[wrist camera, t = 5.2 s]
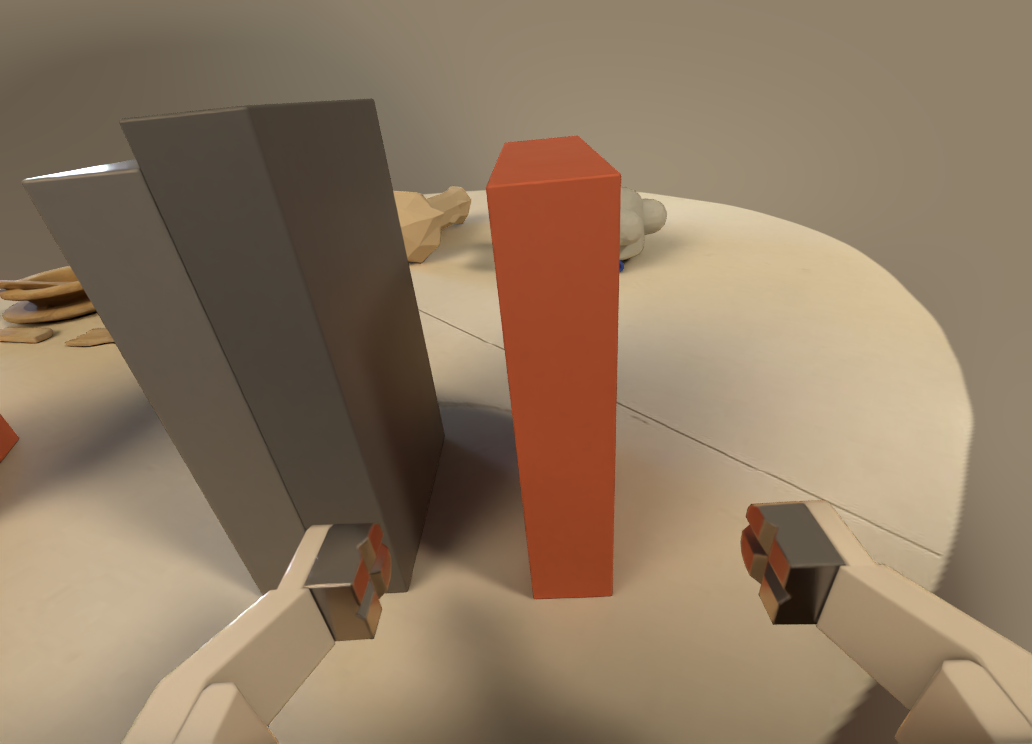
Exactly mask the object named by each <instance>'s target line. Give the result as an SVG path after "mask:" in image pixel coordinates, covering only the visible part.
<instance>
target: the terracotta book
mask: <svg viewBox="0 0 1032 744" xmlns="http://www.w3.org/2000/svg"><path fill="white" fill-rule="evenodd" d="M486 193H487V202H488V210H489V219H490V227H491V236H492V245H493V253H494V262H495V270H496V279H497V288H498V296H499V305H500V313H501V322H502V331H503V339H504V348H505V356H506V365H507V374H508V382H509V391H510V399H511V408H512V417H513V425H514V434H515V442H516V451H517V460H518V468H519V477H520V485H521V494H522V503H523V511H524V520H525V528H526V537H527V546H528V554H529V563H530V571H531V580H532V589H533V597H534V599H548V598H575V597H601V596H612V592H613V544H614V496H615V448H616V400H617V353H618V305H619V257H620V209H621V174H620V173H619V172H618V171H617V170H615V168H613V167H612V166H611V165H610V164H609V163H608V162H607V161H606V160H604V159H603V158H602V157H601V156H600V155H599V154H598V153H597V152H596V151H594V150H593V149H592V148H591V147H590V146H589V145H588V144H587V143H585V142H584V141H583V140H582V139H581V138H580V137H579V136H569V137H560V138H549V139H539V140H529V141H518V142H508V143H505V144H504V146H503V148H502V151H501V153H500V155H499V158H498V160H497V163H496V165H495V167H494V170H493V172H492V174H491V177H490V179H489V182H488V184H487V187H486Z"/></svg>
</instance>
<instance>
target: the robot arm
mask: <svg viewBox="0 0 1032 744" xmlns="http://www.w3.org/2000/svg"><path fill="white" fill-rule="evenodd" d="M746 518H747V520H748V522H749V524H750V525H749V526H747V527H746V528H745V529H744V530H743V531H742V536H741V552H742V557H743V560H744V564H745V566H746V568H747V571H748V573H749V575H750V576H751V577H752V578H754V579H755V580H756V581H758V582H759V583H760V584H761V587H760V591H759V597H760V599H761V601H762V603H763V605H764V607H765V609H766V611H767V613H768V615H769V618H770V620H771V622H772V624H773V625H777V624H817V625H816V627H817V628H818V629H819V630H821V631H822V632H823V633H824V634H825V635H826V636H827V637H828V638H829V639H831V640H832V641H833V642H834V643H835V644H836V645H837V646H838V647H839V648H841V649H842V650H843V651H844V652H845V653H846V654H847V655H848V656H849V657H851V658H852V659H853V660H854V661H855V662H856V663H857V664H858V665H859V666H860V667H862V668H863V669H864V670H865V671H866V672H867V673H868V674H869V675H870V676H872V677H873V678H874V679H875V680H876V681H877V682H878V683H879V684H881V685H882V686H883V687H884V688H885V689H886V690H887V691H888V692H889V693H890V694H891V695H893V696H894V697H895V698H896V699H897V700H898V701H899V702H900V703H901V704H903V705H904V706H905V707H906V708H907V709H908V710H909V711H910V712H909V714H908V715H907V717H906V718H905V720H904V721H903V723H902V724H901V726H900V727H899V729H898V731H897V733H896V735H895V739H896V740H897V742H898V744H1032V653H1030V652H1028V651H1027V650H1025V649H1023V648H1021V647H1020V646H1018V645H1017V644H1015V643H1013V642H1012V641H1010V640H1009V639H1007V638H1005V637H1003V636H1002V635H1000V634H999V633H997V632H995V631H994V630H992V629H990V628H989V627H987V626H985V625H984V624H982V623H980V622H979V621H977V620H975V619H974V618H972V617H971V616H969V615H967V614H966V613H964V612H962V611H961V610H959V609H957V608H956V607H954V606H952V605H950V604H949V603H947V602H946V601H944V600H942V599H941V598H939V597H938V596H936V595H934V594H933V593H931V592H929V591H928V590H926V589H924V588H923V587H921V586H919V585H918V584H916V583H914V582H913V581H911V580H909V579H908V578H906V577H905V576H903V575H901V574H900V573H898V572H896V571H895V570H893V569H891V568H890V567H888V566H886V565H885V564H876V563H875V562H874V561H873V559H872V558H871V557H870V555H869V554H868V553H867V551H866V550H865V549H864V547H863V546H862V545H861V543H860V542H859V541H858V539H857V538H856V537H855V535H854V534H853V533H852V531H851V530H850V529H849V528H848V526H847V525H846V524H845V522H844V521H843V520H842V518H841V517H840V516H839V514H838V513H837V512H836V510H835V509H834V508H833V506H832V505H831V504H830V503H829V502H827V501H826V500H811V501H799V502H798V501H790V502H773V503H757V504H751V505H750V506H749V507H748V509H747V513H746ZM383 534H384V533H383V531H382V528H381V526H380V524H378V523H358V524H329V525H312V526H311V527H310V528H309V529H307V531H306V532H305V534H304V536H303V538H302V540H301V542H300V544H299V546H298V548H297V550H296V552H295V554H294V556H293V558H292V560H291V562H290V564H289V566H288V568H287V570H286V572H285V574H284V576H283V578H282V580H281V582H280V584H279V586H278V588H277V589H276V590H269V591H268V592H267V593H266V594H265V595H263V596H262V597H261V598H260V599H259V600H257V601H256V602H255V603H254V604H253V605H251V606H250V607H249V608H248V609H247V610H245V611H244V612H243V613H242V614H241V615H239V616H238V617H237V618H236V619H234V620H233V621H232V622H231V623H230V624H228V625H227V626H226V627H225V628H224V629H222V630H221V631H220V632H219V633H218V634H216V635H215V636H214V637H213V638H212V639H210V640H209V641H208V642H207V643H206V644H204V645H203V646H202V647H201V648H200V649H198V650H197V651H196V652H195V653H194V654H192V655H191V656H190V657H189V658H187V659H186V660H185V661H184V662H183V663H181V664H180V665H179V666H178V667H177V668H175V669H174V670H173V671H172V672H171V673H169V674H168V675H167V676H166V677H165V678H163V679H162V680H161V681H160V682H159V683H158V684H157V686H156V688H155V689H154V691H153V693H152V694H151V696H150V697H149V699H148V701H147V702H146V704H145V705H144V707H143V709H142V710H141V712H140V713H139V715H138V717H137V718H136V720H135V721H134V723H133V725H132V726H131V728H130V729H129V731H128V733H127V734H126V736H125V737H124V739H123V741H122V742H121V744H279V742H278V741H277V740H276V738H275V737H274V736H273V734H272V733H271V732H270V730H269V729H268V728H267V726H268V725H269V723H270V722H271V721H272V720H273V718H274V717H275V716H276V715H277V714H278V712H279V711H280V710H281V709H282V708H283V706H284V705H285V704H286V703H287V702H288V700H289V699H290V698H291V697H292V696H293V694H294V693H295V692H296V691H297V689H298V688H299V687H300V686H301V685H302V683H303V682H304V681H305V680H306V679H307V677H308V676H309V675H310V674H311V673H312V671H313V670H314V669H315V668H316V667H317V665H318V664H319V663H320V662H321V660H322V659H323V658H324V657H325V656H326V654H327V653H328V652H329V651H330V650H331V648H332V647H333V646H334V645H335V641H346V640H362V639H374V637H375V633H376V630H377V626H378V623H379V619H380V615H381V612H382V607H381V604H380V602H379V598H380V597H381V596H382V595H383V594H384V593H385V592H386V591H387V590H388V586H389V582H390V578H391V566H392V564H391V555H390V552H389V548H388V547H387V546H386V545H384V544H383V543H381V541H382V538H383Z"/></svg>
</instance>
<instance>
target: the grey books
mask: <svg viewBox="0 0 1032 744" xmlns="http://www.w3.org/2000/svg"><path fill="white" fill-rule="evenodd" d="M120 125H121V128H122V130H123V132H124V134H125V136H126V138H127V141H128V142H129V145H130V147H131V149H132V152H133V154H134V156H135V158H136V160H131V161H125V162H120V163H114V164H108V165H103V166H97V167H91V168H86V169H80V170H75V171H69V172H63V173H57V174H51V175H46V176H41V177H35V178H29V179H25V180H24V181H22V185H23V187H24V188H25V190H26V192H27V193H28V195H29V197H30V199H31V200H32V202H33V204H34V205H35V207H36V209H37V210H38V212H39V214H40V216H41V217H42V219H43V221H44V222H45V224H46V226H47V228H48V229H49V231H50V233H51V234H52V236H53V238H54V240H55V241H56V243H57V245H58V246H59V248H60V250H61V251H62V253H63V255H64V257H65V258H66V260H67V261H68V263H69V265H70V267H71V269H72V270H73V272H74V274H75V275H76V277H77V279H78V281H79V282H80V284H81V286H82V287H83V289H84V291H85V292H86V294H87V296H88V298H89V299H90V301H91V303H92V304H93V306H94V308H95V310H96V311H97V313H98V315H99V316H100V318H101V320H102V322H103V323H104V325H105V327H106V328H107V330H108V332H109V334H110V335H111V337H112V339H113V340H114V342H115V344H116V345H117V347H118V349H119V351H120V352H121V354H122V356H123V357H124V359H125V361H126V363H127V364H128V366H129V368H130V369H131V371H132V373H133V375H134V376H135V378H136V380H137V381H138V383H139V385H140V386H141V388H142V390H143V392H144V393H145V395H146V397H147V398H148V400H149V402H150V404H151V405H152V407H153V409H154V410H155V412H156V414H157V416H158V417H159V419H160V421H161V422H162V424H163V426H164V427H165V429H166V431H167V433H168V434H169V436H170V438H171V439H172V441H173V443H174V445H175V446H176V448H177V450H178V451H179V453H180V455H181V457H182V458H183V460H184V462H185V463H186V465H187V467H188V468H189V470H190V472H191V474H192V475H193V477H194V479H195V480H196V482H197V484H198V486H199V487H200V489H201V491H202V492H203V494H204V496H205V498H206V499H207V501H208V503H209V504H210V506H211V508H212V509H213V511H214V513H215V515H216V516H217V518H218V520H219V521H220V523H221V525H222V527H223V528H224V530H225V532H226V533H227V535H228V537H229V539H230V540H231V542H232V544H233V545H234V547H235V549H236V551H237V552H238V554H239V556H240V557H241V559H242V561H243V562H244V564H245V566H246V568H247V569H248V571H249V573H250V574H251V576H252V578H253V580H254V581H255V583H256V585H257V586H258V588H259V590H260V592H261V593H262V595H265V594H266V593H267V592H268V591H269V590H276V589H277V588H278V586H279V584H280V582H281V580H282V578H283V576H284V574H285V572H286V570H287V568H288V566H289V564H290V562H291V560H292V558H293V556H294V554H295V552H296V550H297V548H298V546H299V544H300V542H301V540H302V538H303V536H304V534H305V532H306V531H307V529H309V528H310V527H311V526H312V525H329V524H358V523H378V524H380V526H381V528H382V531H383V533H384V534H383V538H382V541H381V543H383V544H384V545H386V546H387V547H388V548H389V552H390V555H391V564H392V566H391V578H390V582H389V586H388V590H387V591H386V592H385V593H394V592H407V591H408V588H409V584H410V580H411V576H412V571H413V567H414V563H415V559H416V555H417V550H418V546H419V542H420V538H421V534H422V529H423V525H424V521H425V517H426V512H427V508H428V504H429V500H430V496H431V491H432V487H433V483H434V479H435V475H436V470H437V466H438V462H439V458H440V453H441V449H442V445H443V441H444V437H445V434H444V429H443V425H442V420H441V415H440V410H439V406H438V401H437V396H436V391H435V387H434V382H433V377H432V372H431V368H430V363H429V358H428V353H427V349H426V344H425V339H424V335H423V330H422V325H421V320H420V316H419V311H418V306H417V301H416V297H415V292H414V287H413V282H412V278H411V273H410V268H409V263H408V259H407V254H406V249H405V245H404V240H403V235H402V230H401V226H400V221H399V216H398V211H397V207H396V202H395V197H394V192H393V188H392V183H391V178H390V174H389V169H388V164H387V159H386V155H385V150H384V145H383V140H382V136H381V131H380V126H379V121H378V117H377V112H376V107H375V102H374V100H373V99H356V100H337V101H320V102H302V103H283V104H265V105H246V106H237V107H227V108H218V109H208V110H199V111H190V112H180V113H171V114H162V115H152V116H143V117H134V118H124V119H121V120H120Z"/></svg>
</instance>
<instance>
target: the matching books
mask: <svg viewBox="0 0 1032 744" xmlns="http://www.w3.org/2000/svg"><path fill="white" fill-rule="evenodd" d="M18 439H19V437H18V436H17V434H16V433H15V432H14V431H13V429H12V428H11V427H10V426H9V424H8V423H7V422H6V420H5V419H4V418H3V417H2V415H1V414H0V462H1V461H2V460H3V458H4V457H5V456H6V455H7V453H8V452H9V451H10V450H11V448H12V447H13V446H14V444H15V443H16V442H17V441H18Z"/></svg>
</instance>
